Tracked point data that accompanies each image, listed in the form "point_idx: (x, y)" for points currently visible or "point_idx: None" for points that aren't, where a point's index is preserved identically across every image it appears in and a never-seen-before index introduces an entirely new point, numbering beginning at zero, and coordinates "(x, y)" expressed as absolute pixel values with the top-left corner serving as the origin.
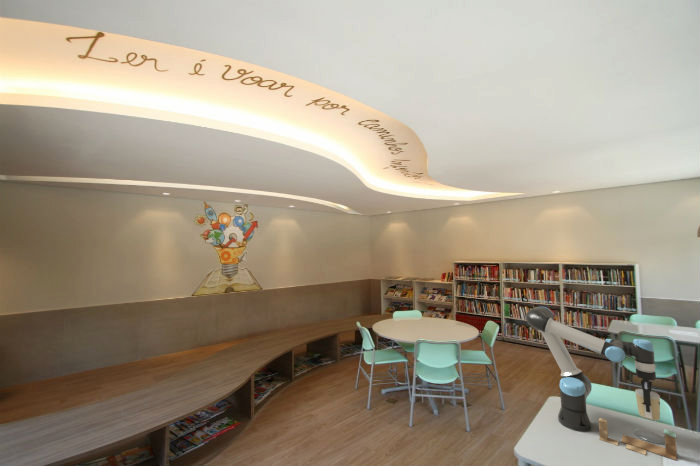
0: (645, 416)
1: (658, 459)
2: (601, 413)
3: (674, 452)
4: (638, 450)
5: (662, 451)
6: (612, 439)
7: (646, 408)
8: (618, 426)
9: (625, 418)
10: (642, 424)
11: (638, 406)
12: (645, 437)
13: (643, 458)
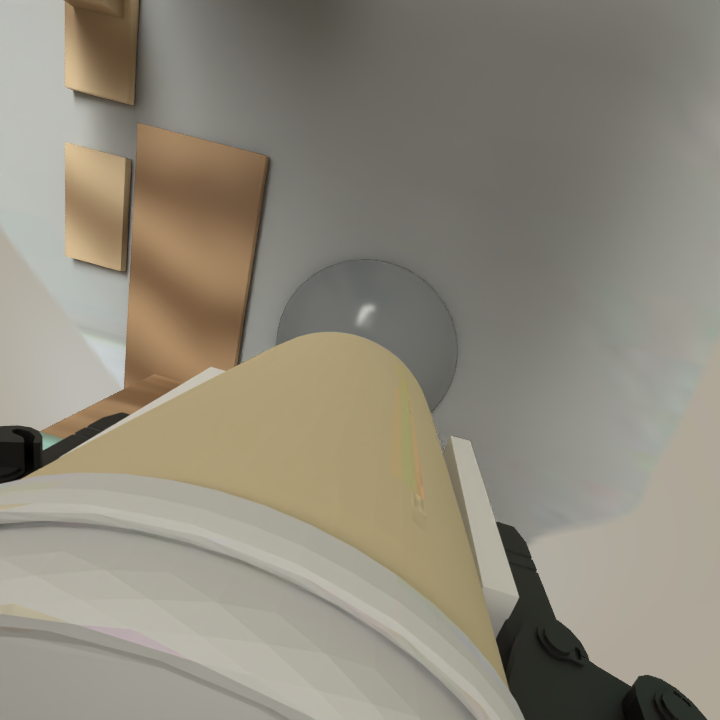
0: (204, 375)
1: (76, 314)
2: (694, 12)
3: None
4: (84, 221)
5: (168, 362)
6: (123, 54)
7: (67, 443)
8: (432, 150)
9: (647, 245)
10: (570, 354)
11: (267, 355)
12: (320, 315)
13: (23, 232)
